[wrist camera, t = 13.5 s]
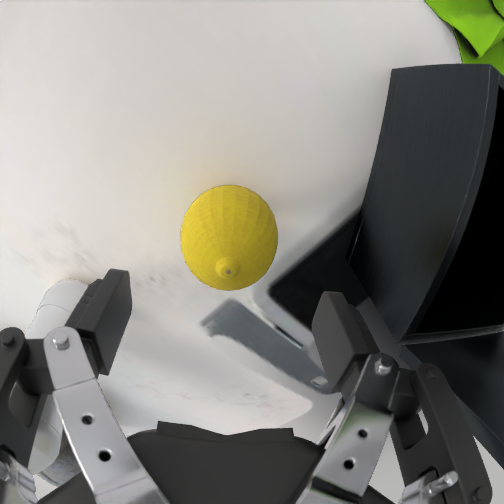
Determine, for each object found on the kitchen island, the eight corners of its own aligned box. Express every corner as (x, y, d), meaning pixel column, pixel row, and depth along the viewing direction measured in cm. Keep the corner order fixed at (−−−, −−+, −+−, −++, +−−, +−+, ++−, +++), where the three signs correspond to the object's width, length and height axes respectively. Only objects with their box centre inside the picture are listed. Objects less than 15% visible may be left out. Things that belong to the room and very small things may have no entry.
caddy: (391, 68, 15) (490, 63, 6) (492, 126, 17) (571, 154, 8) (345, 258, 22) (397, 345, 14) (446, 269, 24) (501, 331, 15)
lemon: (283, 219, 20) (309, 283, 13) (221, 257, 22) (217, 333, 15) (239, 156, 18) (243, 189, 11) (175, 202, 19) (143, 260, 12)
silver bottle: (49, 301, 23) (-34, 467, 5) (64, 255, 21) (-55, 455, 3) (100, 334, 25) (43, 514, 8) (123, 295, 23) (49, 521, 5)
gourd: (106, 452, 37) (78, 520, 21) (4, 381, 34) (-37, 434, 18) (131, 389, 30) (80, 502, 13) (-7, 288, 26) (-84, 349, 10)
